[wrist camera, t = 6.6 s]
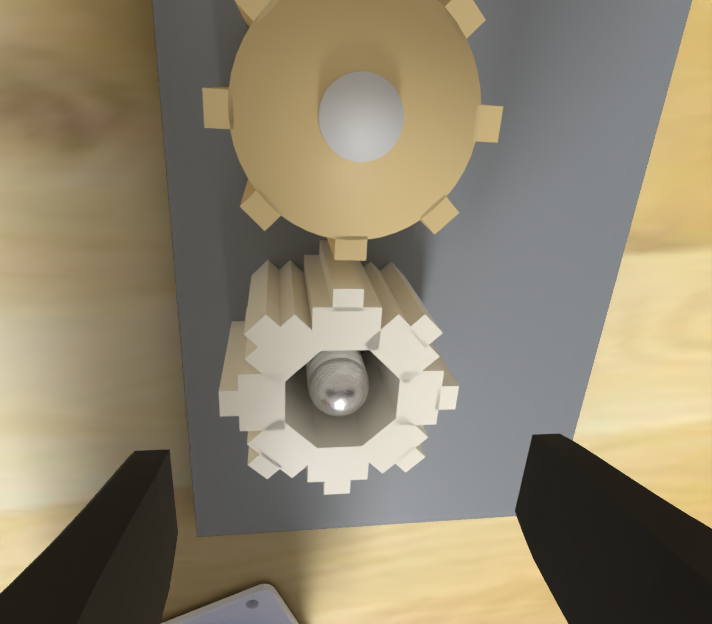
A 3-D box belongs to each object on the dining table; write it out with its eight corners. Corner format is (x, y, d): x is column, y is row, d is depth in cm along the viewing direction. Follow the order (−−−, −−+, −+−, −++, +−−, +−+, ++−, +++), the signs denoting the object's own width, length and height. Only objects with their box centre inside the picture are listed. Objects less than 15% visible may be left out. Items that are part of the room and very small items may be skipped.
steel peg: (313, 361, 17) (324, 437, 13) (293, 320, 16) (299, 388, 12) (359, 342, 17) (382, 414, 13) (341, 301, 16) (361, 364, 12)
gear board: (540, 495, 22) (618, 616, 17) (200, 516, 20) (175, 660, 15) (686, -74, 14) (910, -160, 9) (149, -140, 12) (59, -299, 7)
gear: (208, 375, 16) (189, 458, 13) (278, 212, 15) (279, 254, 11) (367, 427, 18) (390, 512, 14) (447, 286, 16) (496, 343, 13)
